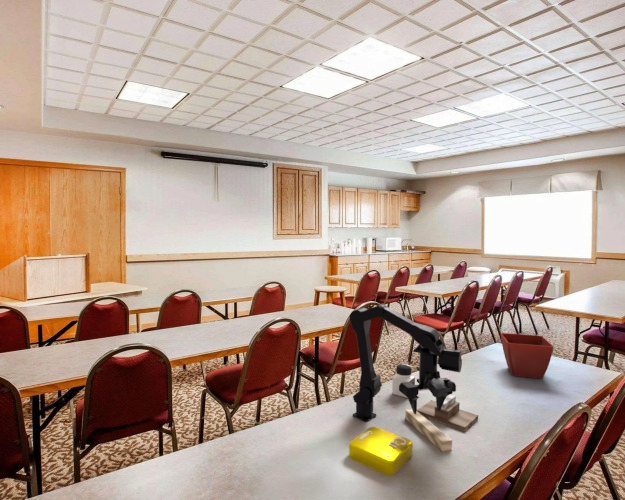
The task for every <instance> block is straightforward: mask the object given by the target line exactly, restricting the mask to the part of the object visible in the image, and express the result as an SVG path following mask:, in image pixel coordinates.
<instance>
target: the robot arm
mask: <svg viewBox="0 0 625 500" xmlns="http://www.w3.org/2000/svg"><path fill="white" fill-rule="evenodd" d="M348 318H349V321H350V325H351V328H352V330H353V331H354V333H355V335H356V341H357V349H358V356H359V357H358V358H359V364H360V365H359V366H360V372H361V374H360V380H359V386H358V387H359V390H358V392H356V393H355V394H354V395H353V396H352V399H353V401H354V403H355V410H356V411H355V412H354V413H352V417H355V418H357V419H360V420H362V421H364V422H369V421H370V420H372V419H373V418H376V416H377V413H375V412H374V398H375V397H376V396H377V395H378V393H379V392H380V391H381V388H382V386H383V384H382V382H381V379H382V378H381V375H380V374H377V373H376V372H375V367H374V359H373V353H372V346H371V339H370V328H371V322H372V320H374V319H376V318H380V319H382V320H384V321H386V322H387V323H389V324H391V325H393V326H395V327H396V328H398V329H399V330H402V331H403V332H405V333H406V334H408V335H409V336H410V337H412V339H413V340H414V341H415V342H416V343H417V344H418V345H417V346H416V347H415V348H414V349H413V352H415V353H418V354H419V363H418V364H419V365H418V366H417V367H416V371H417V372H418V378H416V382H417V383H418V384H415V385H414V384H412V383H411V382H403V383H400V385H399V391H400V392H401V393H403V394H404V395H405V396H407V398H406V399H407V400H408V403H409V405H410V407H411V409H412V410H413V413H414V414H416V412H417V410H418V407H417V406H418V399H420V397H419V396H418V395H419V392H420V391H421V392H422V391H429V392H430V393H431V394H432V396H433V397H434V398H435V401H436V404H437V410H438V411H440V410H441V407H442V405H443V403H444V400H445V399H446V397H448V396H449V395H453V393H455V392H456V391H457V385H456V383H455V382H454V381H453V380H451V379H450V378H447V377H442V378H441V374H440V371H439V370H438V367H439V368H441V370H444V371H449V372H453V373H459V374H460V373H461V371H462V365H463V359H462V355H461V353H462V352H461V351H462V350H458V349H449V348H446V346H445V344H444V343H443V341H442V340H441V338H440V333H439V331H438V330H437V329H436V328H435V327H431V326H428V325H426V324H421V323H418V322H414V321H413V320H411V319H409V318H408V317H406V316H405V315H403V314H401V313H399V312H397V311H395V310H394V309H391V308H390V307H388V305H386V304H384V303H381V304H378V305H376V306H373V307H368V308H366V307H359V308H357V309H355V310H352V311H351V313H350V314H349V317H348Z"/></svg>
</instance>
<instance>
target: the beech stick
mask: <svg viewBox="0 0 625 500" xmlns="http://www.w3.org/2000/svg"><path fill="white" fill-rule="evenodd" d="M404 413H405V416H404V419H405V420H407V422H408V423H410V424H411V425H412V426H413V427H414V428H415V429H417V431H419V432H420V433H421V434H422V436H424V437H425V438H426V439H427V440H428V441H430V442H431V443H432V444H433V445H434V446H435V447H436V448H438V450H439V451H440V452H449V451H452V449H453V440H452V439H451V438H450V437H449V436H448V435H446V434H445V432H443V431H441V429H439V428H438V427H437V426H436V425H434V424H433V423H432V422H431V421H429V420H428V418H426V417H423V416H422V415H421V414H420V413H419V412H416V414H414V413H413V410H412V408H411V409H405V412H404Z"/></svg>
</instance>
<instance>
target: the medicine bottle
mask: <svg viewBox="0 0 625 500" xmlns="http://www.w3.org/2000/svg"><path fill="white" fill-rule="evenodd" d="M391 380H392V385H391V386H392V387H391V390H392V391H391V392H392V395H395V396H399V397H401V398H406V399H408V398H407V396H405V395H404V394H403V393H401V392H400V391H399V385H400V383H403V382H411V383H412V384H414V385H416V384H415V383H416V376H415V375H412V367H411V365H409V364H406V363H400V364H397V365H396V375H394V376H393V377H392V379H391Z"/></svg>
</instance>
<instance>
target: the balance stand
mask: <svg viewBox="0 0 625 500" xmlns="http://www.w3.org/2000/svg"><path fill="white" fill-rule="evenodd" d="M456 398H457V396H456V395H454V394H450V395H448V396H447V397H446V399H445V400H444V403H443V405H442V407H441V410H440V411H438V410H437V404H436V400H433V399H432V400H430V401H428V402H426V403H425V404H423V405H422V406H420V407H419V408H417V412H419V413H420V414H421V415H422V416H423V417H425V418H426V419H429V420H431V421H435V422H437V423H441V424H443V425H445V426H449V427H452V428H453V429H457V430H460V431H463V432H467V431H468V429H470V428H471V427H472V426H473V425H474V424H475V423H476V422H477V421H478V420H479V415H478V414H475V413H472V412H469V411H466V410H464V409H463V410H462V409H460V404H461V403H460V402H459V401H457V400H456Z"/></svg>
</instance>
